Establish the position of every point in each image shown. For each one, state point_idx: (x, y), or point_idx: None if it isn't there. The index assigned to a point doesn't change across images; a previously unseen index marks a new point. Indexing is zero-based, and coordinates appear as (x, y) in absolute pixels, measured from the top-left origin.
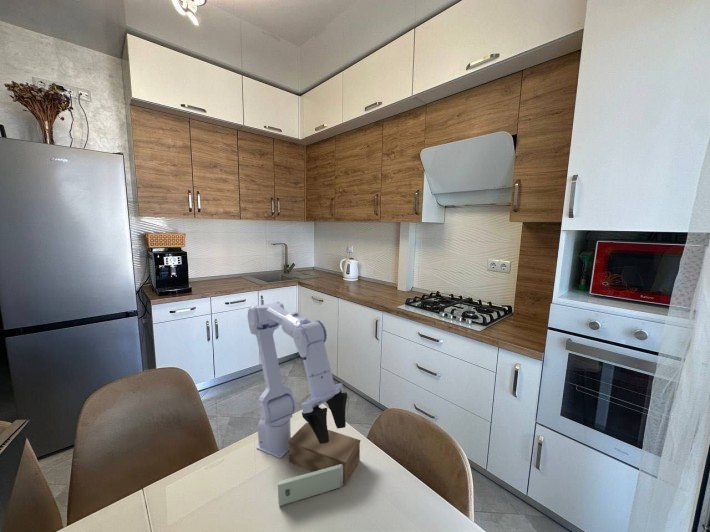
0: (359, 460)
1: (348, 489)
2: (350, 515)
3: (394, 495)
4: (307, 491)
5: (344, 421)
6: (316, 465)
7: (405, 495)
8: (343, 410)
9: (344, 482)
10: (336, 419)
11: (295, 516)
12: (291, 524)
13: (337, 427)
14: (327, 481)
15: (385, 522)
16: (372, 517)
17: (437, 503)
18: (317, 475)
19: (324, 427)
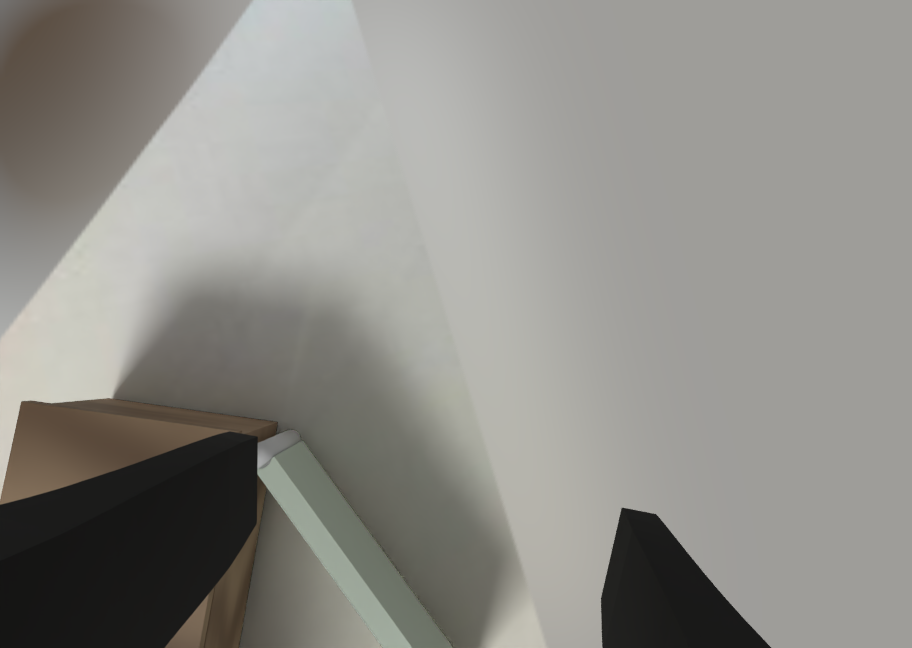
0: (109, 399)
1: (294, 400)
2: (413, 353)
3: (269, 194)
4: (392, 579)
5: (209, 452)
6: (233, 608)
7: (256, 148)
8: (92, 513)
9: (273, 428)
10: (193, 576)
11: (484, 576)
12: (520, 575)
13: (249, 525)
14: (330, 502)
15: (402, 210)
16: (396, 264)
17: (259, 19)
18: (354, 561)
19: (765, 643)
